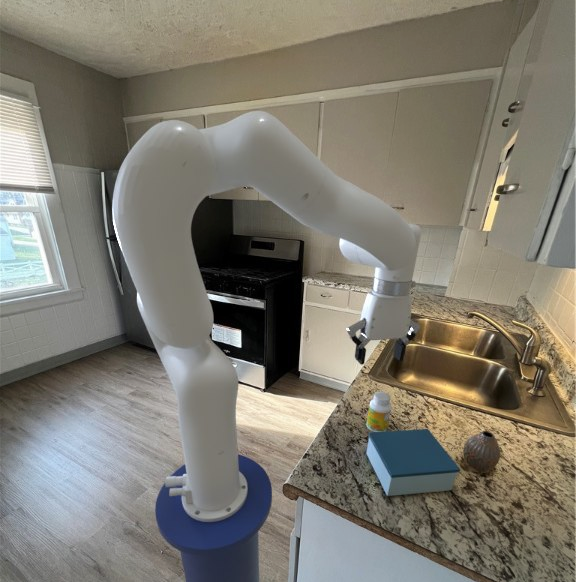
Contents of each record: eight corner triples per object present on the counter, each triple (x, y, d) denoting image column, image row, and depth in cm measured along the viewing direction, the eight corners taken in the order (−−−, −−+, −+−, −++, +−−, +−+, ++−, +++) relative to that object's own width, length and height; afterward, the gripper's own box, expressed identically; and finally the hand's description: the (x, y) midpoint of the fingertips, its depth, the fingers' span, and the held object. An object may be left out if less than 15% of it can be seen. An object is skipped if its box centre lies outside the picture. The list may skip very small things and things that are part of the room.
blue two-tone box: (386, 497, 62) (391, 475, 60) (365, 452, 74) (368, 432, 71) (453, 490, 64) (460, 469, 62) (422, 448, 75) (427, 428, 73)
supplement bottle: (361, 425, 83) (366, 394, 78) (374, 417, 86) (379, 387, 82) (378, 436, 79) (385, 404, 75) (391, 427, 82) (397, 396, 78)
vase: (474, 450, 75) (484, 421, 71) (501, 471, 69) (514, 440, 66) (453, 458, 73) (463, 428, 69) (479, 480, 67) (491, 448, 63)
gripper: (417, 281, 70) (403, 350, 78) (345, 284, 67) (338, 356, 74) (439, 290, 64) (421, 364, 71) (360, 293, 60) (350, 371, 67)
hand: (378, 360), depth 73 cm, fingers open, 9 cm apart
